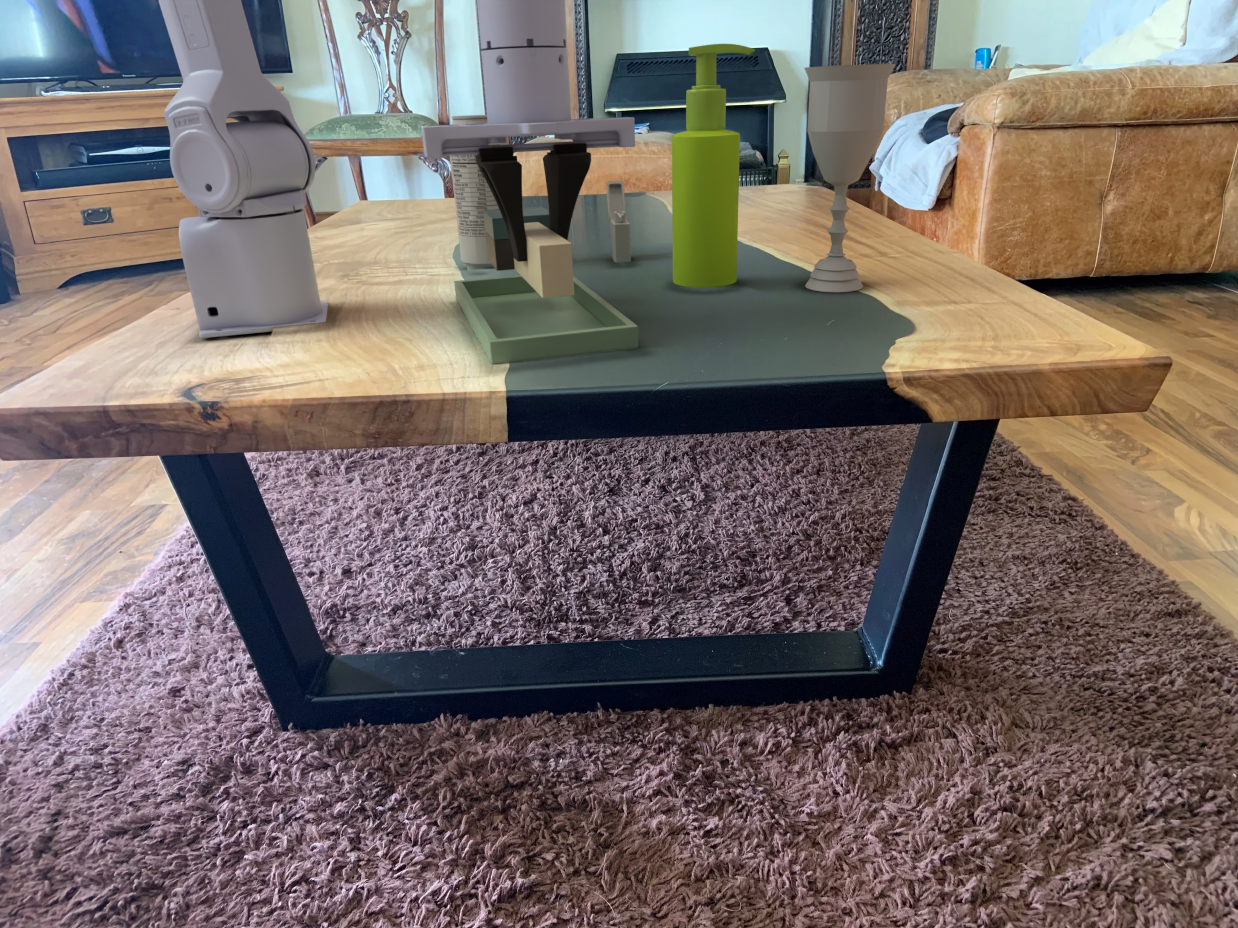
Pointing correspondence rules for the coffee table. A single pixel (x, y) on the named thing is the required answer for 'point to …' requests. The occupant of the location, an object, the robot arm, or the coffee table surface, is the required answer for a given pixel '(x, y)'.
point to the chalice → (843, 150)
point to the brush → (532, 252)
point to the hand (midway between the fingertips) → (539, 257)
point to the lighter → (618, 222)
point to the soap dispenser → (706, 181)
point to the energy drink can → (471, 202)
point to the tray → (541, 320)
